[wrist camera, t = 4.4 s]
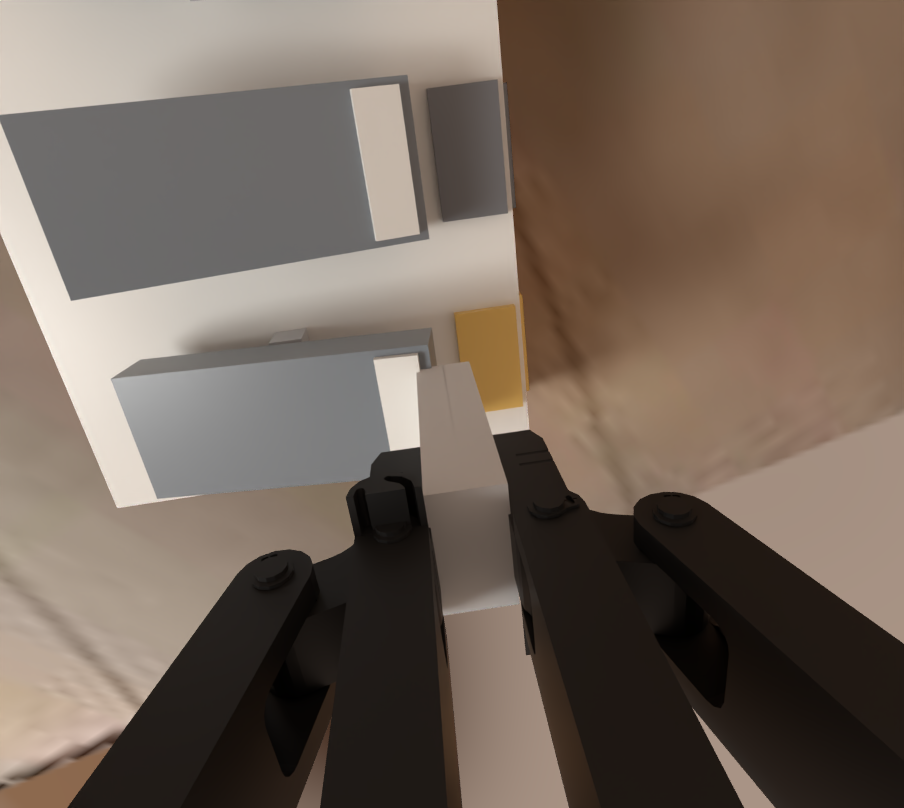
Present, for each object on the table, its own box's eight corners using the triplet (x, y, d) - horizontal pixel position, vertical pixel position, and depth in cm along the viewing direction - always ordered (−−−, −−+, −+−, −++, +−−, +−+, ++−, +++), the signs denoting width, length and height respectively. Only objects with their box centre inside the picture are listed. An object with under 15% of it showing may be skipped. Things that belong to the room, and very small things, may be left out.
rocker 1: (87, 289, 15) (68, 302, 14) (23, 121, 14) (-7, 114, 12) (414, 234, 17) (431, 239, 16) (393, 83, 16) (409, 73, 14)
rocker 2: (181, 472, 19) (154, 502, 18) (140, 359, 18) (106, 381, 16) (448, 447, 19) (446, 476, 17) (431, 327, 17) (427, 346, 15)
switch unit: (167, 444, 25) (101, 527, 19) (-49, -149, 17) (-268, -301, 11) (512, 392, 26) (546, 458, 20) (460, -205, 18) (492, -376, 12)
